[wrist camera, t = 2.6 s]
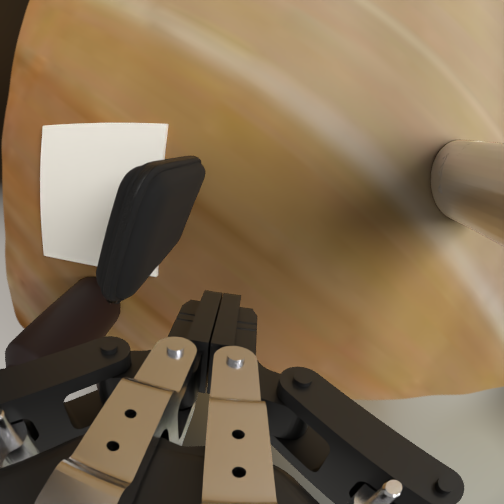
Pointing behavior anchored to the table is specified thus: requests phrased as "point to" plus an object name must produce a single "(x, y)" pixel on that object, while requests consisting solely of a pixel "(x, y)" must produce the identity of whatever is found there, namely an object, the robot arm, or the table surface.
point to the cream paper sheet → (89, 181)
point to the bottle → (65, 324)
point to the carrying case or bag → (146, 222)
